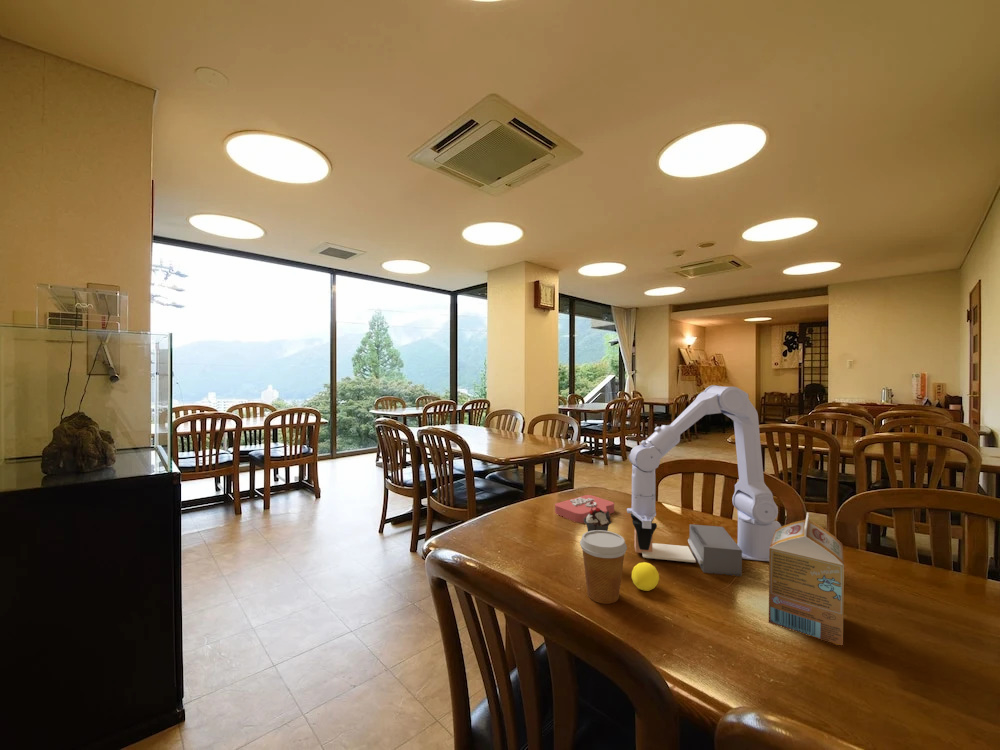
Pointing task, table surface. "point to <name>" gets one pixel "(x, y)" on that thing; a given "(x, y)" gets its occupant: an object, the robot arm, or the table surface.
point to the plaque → (582, 507)
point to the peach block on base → (665, 551)
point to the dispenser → (715, 550)
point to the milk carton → (807, 581)
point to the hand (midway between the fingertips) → (643, 546)
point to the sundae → (597, 520)
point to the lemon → (645, 576)
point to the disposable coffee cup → (603, 564)
